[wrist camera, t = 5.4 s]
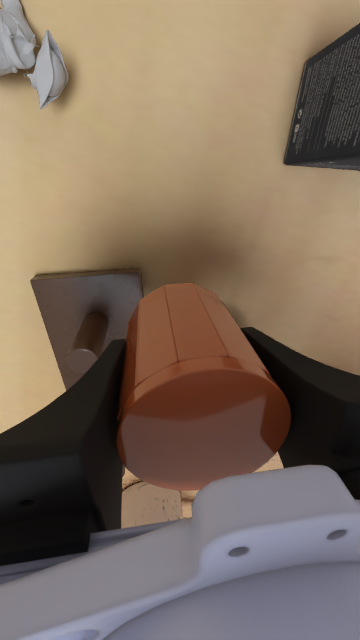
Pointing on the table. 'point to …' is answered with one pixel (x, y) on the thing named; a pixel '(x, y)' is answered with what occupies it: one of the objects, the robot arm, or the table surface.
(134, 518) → the speckled cream mug
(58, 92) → the soldier figure
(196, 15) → the table surface
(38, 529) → the robot arm
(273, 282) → the table surface
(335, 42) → the box
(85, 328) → the cup stand
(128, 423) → the terracotta cup
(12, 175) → the table surface
